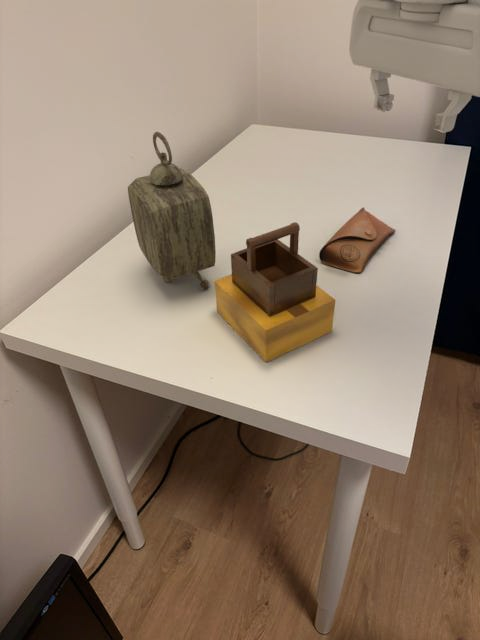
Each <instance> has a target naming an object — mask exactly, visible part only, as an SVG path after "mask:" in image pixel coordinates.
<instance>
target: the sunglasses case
mask: <svg viewBox="0 0 480 640" xmlns="http://www.w3.org/2000/svg"><path fill="white" fill-rule="evenodd" d="M395 232H396V229H395V228H393V227H391V226H390V225H388V224H386V223H385V222H384V221H382V220H380V219H379V218H378V217H376V216H375V215H373V214H372V213H370V212H369V211H367V210H366V209H365V207H361V208H360V209H359V211H357V212H356V213H355V214H354V215H353V216H351V218H349V219H348V220H347V221H346V222H345V223H344V224H343V225H342V226H341V227H340V228H338V230H337V231H336V232H335V233H334V234H333V235H332V236H331V237H330V239H329V240H328V241H327V242H326V243H325V245H323V246H322V247H321V249H320V251H319V253H318V254H319V255H318V257H319V261H320V262H321V263H322V264H324V265H326V266H329V267H331V268H334V269H337V270H342V271H345V272H350V273H353V274H354V273H356V274H357V273H358V274H361V273H362V272H363V270H364V268H365V266H366V264H367V263H368V262H369V260H370V259H371V257H372V256H373V255H375V253H376V252H377V250H378V249H379V248H380V247H381V246H382V245H383V244H384V243H385V242H386V241H387V240H388V239H389V238H390V237H391V236H392V235H393V234H394V233H395Z"/></svg>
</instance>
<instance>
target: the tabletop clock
mask: <svg viewBox="0 0 480 640" xmlns="http://www.w3.org/2000/svg"><path fill="white" fill-rule="evenodd" d="M152 134H153V135H152V144H153V148H154V151H155V154H156V155H157V157H158V159H159V161H160V163H157V164H156V165H154V166H153V167H152V168H151V170H150V173H149V175H145V176H140V177H136V178H135V179H134V180H133V181H132V182H131V183H130V184H129V185H128V186H127V194H128V200H129V205H130V210H131V216H132V217H131V218H132V221H133V226H134V230H135V231H134V232H135V235H136V239H137V243H138V246H139V248H140V251H141V253H142V255H143V256H144V257H145V259H146V260H147V262H148V264H149V265H150V266H151V268H152V269H153V270H154V272H155V273H156V274H157V275H158V276H159V277H162V280H163V282H164V283H170V282H171V281H172V280H174V279H177V278H180V277H184V276H187V275H191V274H192V275H194V277H195V278H196V279H197V280H198V281H199V287H200V288H201V289H202V290H207V289H209V287H210V282H209V281H208V280H206V279H203V277H202V276H201V274H200V271H203V270H206V269H210V268H214V267H215V266H216V235H215V226H214V217H213V211H212V204H211V201H210V197H209V195H208V192H207V191H206V189H205V188H204V186H203V185H202V184H201V183H200V182H199V181H198V180H197V179H196V178H195V176H194V175H192V174H191V173H189V172H188V171H187V170H185V169H184V168H183V167H180V168H179V166H177V165H176V164H174V163H173V155H172V154H173V153H172V150H171V147H170V144H169V141H168V140H167V138H166V136H165V135H163V134H162V133H161V132H159V131H155V132H154V133H152ZM157 138H158V139H160V141H161V142H162V143H163V145H164V147H165V149H166V152H167V153H166V152H164V151H162V152H160V150H159V148H158V145H157ZM167 154H168V155H167Z"/></svg>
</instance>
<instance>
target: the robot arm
mask: <svg viewBox="0 0 480 640" xmlns="http://www.w3.org/2000/svg"><path fill="white" fill-rule="evenodd" d="M350 26H351V27H350V34H349V46H348V47H349V49H348V52H349V57H350V60H351V62H352V64H353V65H354V66H358V67H362V68H366V69H369V70H370V76H369V77H370V78H369V79H370V82H371V86H372V90H373V95H374V102H373V109H374V110H376V111H379V112H382V113H386V112H389V111H391V110H393V109H392V108H393V106H394V103H393V102H394V99H395V94H392V93H390V87H389V86H390V85H389V80H388V79H389V78H391V77H392V76H396V77H401V78H404V79H407V80H410V81H411V80H412V81H416V82H419V83H424V84H427V85H431V86H435V87H439V88H443V89H447V90H448V94H447V100H448V101H450V103H449V104H448V105H447V107H446V108H445V110H444V111H442V112H437V113H435V115H434V123H433V125H432V127H433V130H436V131H438V132H441V133H444V134H445V133H448V132H449V133H450V132H452V131H453V130H454V128H455V125H456V120H457V117H458V114H460V113H461V111H462V110H463V109H465V107H466V106H467V104H468V103H469V102H470V101H471V100H472V96H474V97H477V98H480V0H357V2H356V3H355V5H354V8H353V13H352V18H351V25H350Z"/></svg>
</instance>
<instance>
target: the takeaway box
mask: <svg viewBox="0 0 480 640" xmlns="http://www.w3.org/2000/svg"><path fill="white" fill-rule="evenodd" d="M214 291H215V302H216V304H215V305H216V312H217V313H218V314H219V315H220V316H221V317H222V318H223V319H224V320H225V321H226V322H227V324H229V325H230V327H232V328H233V330H234V331H235V332H236V333H237V334H238V336H240V337H241V338H242V339H243V340H244V341H245V342H246V343H247V344H248V345H249V346H250V348H252V350H254V352H255V353H256V354H258V356H259V357H260V358H261V360H263V361H264V362H265V363H268V362H271V361H272V360H274V359H276V358H279V357H281V356H283V355H285V354H286V353H289V352H291V351H294V350H295V349H297V348H300V347H301V346H305V345H307V344H308V343H310V342H312V341H314V340H316V339H318V338H321V337H322V336H325V335H327V334H329V333H331V332H333V326H334V325H333V324H334V319H335V318H334V316H335V310H336V309H335V307H336V299H335V298H334V297H333V296H332V295H330V294H329V293H328V292H326V291H325V290H324V289H322V288H321V287H320V286H319V285H317V284H316V297H314V298H312V299H310V300H307V301H305V302H303V303H300V304H298V305H296V306H293V307H291V308H289V309H286V310H284V311H282V312H280V313H277V314H275V315H273V316H270V317H269V316H268V315H267V314H266V313H265V312H264V311H263V310H262V309H261V308H260V307H259V306H257V305H256V304H255V303H254V302H253V301H252V300H251V299H250V298H249V297H248V296H247V295H246V294H244V293H243V292H242V291H241V290H240V289H239V288H238V287H237V286H236V285H235V284H234V283H233V282H232V273H231V274H229V275H226V276H223V277H221V278H218V279H215V280H214Z"/></svg>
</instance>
